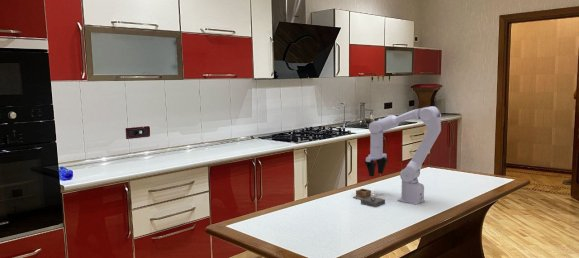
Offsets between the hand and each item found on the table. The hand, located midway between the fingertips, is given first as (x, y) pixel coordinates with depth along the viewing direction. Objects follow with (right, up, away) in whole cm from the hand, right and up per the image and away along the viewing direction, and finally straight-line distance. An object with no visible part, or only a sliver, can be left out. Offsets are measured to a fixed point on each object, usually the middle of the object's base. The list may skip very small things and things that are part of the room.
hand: (376, 174), depth 203 cm
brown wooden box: (-7, -10, -3) cm, 12 cm away
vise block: (-4, -12, -13) cm, 18 cm away
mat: (-7, -10, -3) cm, 13 cm away
